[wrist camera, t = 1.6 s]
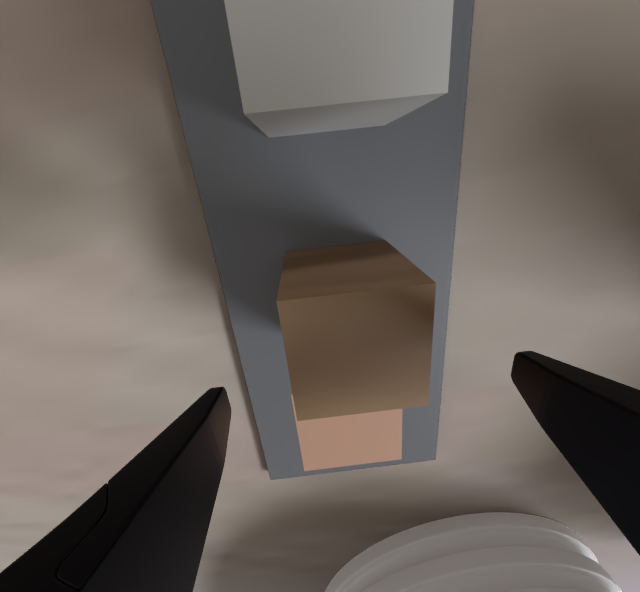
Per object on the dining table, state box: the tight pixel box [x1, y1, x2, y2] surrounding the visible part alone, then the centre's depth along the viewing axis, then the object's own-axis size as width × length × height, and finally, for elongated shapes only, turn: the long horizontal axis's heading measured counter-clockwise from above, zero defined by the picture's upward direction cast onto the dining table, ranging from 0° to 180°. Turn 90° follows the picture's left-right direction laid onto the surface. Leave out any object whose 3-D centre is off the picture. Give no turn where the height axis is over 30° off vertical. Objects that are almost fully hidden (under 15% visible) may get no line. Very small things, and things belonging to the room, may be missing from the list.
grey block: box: [224, 0, 454, 138], centre depth 9 cm, size 5×5×6 cm
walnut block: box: [276, 240, 436, 421], centre depth 13 cm, size 5×5×6 cm
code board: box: [151, 0, 474, 480], centre depth 16 cm, size 28×12×1 cm, turn 6°
